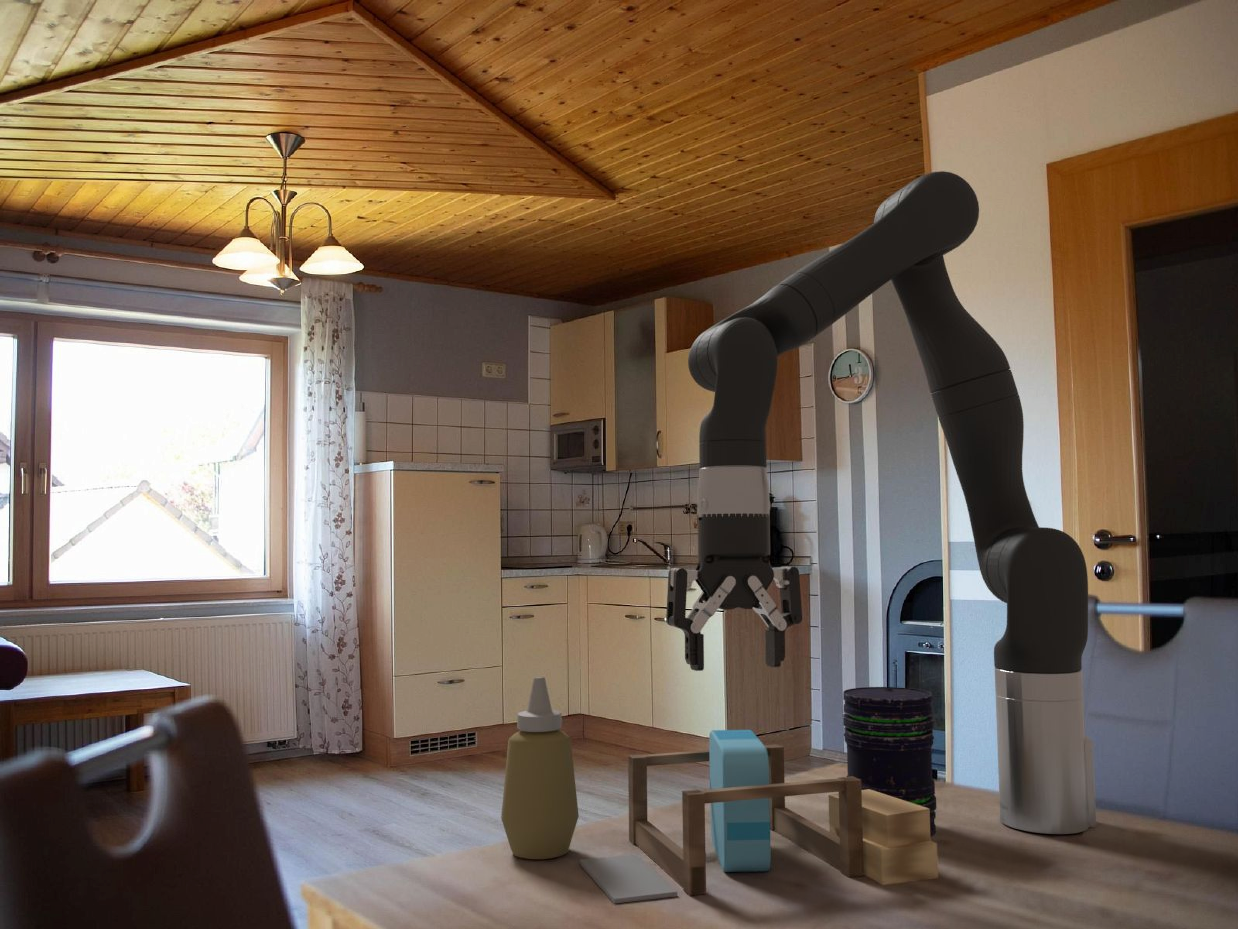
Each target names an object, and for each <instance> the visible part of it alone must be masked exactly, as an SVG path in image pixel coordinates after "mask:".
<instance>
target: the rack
mask: <svg viewBox="0 0 1238 929" xmlns="http://www.w3.org/2000/svg"><path fill="white" fill-rule="evenodd" d="M764 746H765V747H766V749H767V753H768V760H769V784H767V785H755V786H743V787H732V788H720V789H710V788H709V789H708V788H707V789H700V790H699V789H690V790H682V791H681V792H682V794H681V796H682V797H681V802H682V804H681V805H682V806H681V807H682V808H681V809H682V847H681V846H680V845H678V844H677V843H676V842H675V841H673V839H671V838H669V836H667V835H666V834H665V833H664V832H663V831H661V830H660V829H658V827H656V826H655V825H653V823H651V822H650V821H649V820H648V767H652V766H666V765H677V764H689V763H690V764H691V763H704V762H705V763H706V762H710V754H709V749H705V750H693V751H692V750H691V751H678V752H677V751H676V752H666V753H665V752H663V753H651V754H650V753H649V754H641V753H640V754H629V755H628V756H627V763H628V766H627V770H628V771H627V772H628V775H627V776H628V778H627V779H628V780H627V781H628V784H627V787H628V840H629V842H630V843H631V844H633V845H636V846H637V847H638V848H639V849H641V851H642V852H643V853H644V854H646V855H647V856H648V857H649V858H650V859H651V860H652V861H653V862H654V863H656V865H657V866H659V867H660V868H661V869H662V870H663V871H664V872H665V873H666V874H668V875H669V876H670V877H671V878H672V879H673V881H675V882H676V883H677V884H679V886H681V887H682V888H683V891H684V892H685V893H686V894H687V895H688V896H689V897H691V896H703V895H707V868H706V866H707V865H706V864H707V863H706V862H707V861H706V859H707V858H706V856H707V854H706V851H707V850H706V808H705V807H706V804H710V803H718V802H729V801H740V800H751V799H762V798H770V831H775V832H776V833H778V834H780V835H782V836H783V837H785V838H786V839H788V840H789V841H791V842H793V843H794V844H795V845H798V846H799V847H801V848H803V849H804V850H806V851H807V852H809V853H810V854H812V855H814V856H816V857H817V858H818V859H821V860H822V861H824V862H826V863H827V864H829V865H830V866H832V867H834V868H835V869H837V870H839V871H840V873H841V874H843V875H844V876H846V877H847V878H854V877H864V876H865V874H864V862H863V826H862V791H861V780H860V779H858V778H856V777H853V776H851V777H847V776H842V777H838V778H829V779H828V778H827V779H815V780H804V781H794V782H791V781H790V782H785V747H784V746H783V745H779V744H778V743H777V744H764ZM837 792H838V793H839V826H840V837H838V836H837V835H835V834H833V833H831V832H830V830H828V829H825V828H824V827H821V826H820V825H818V824H816V823H814V822H813V821H811V820H809V819H807V818H805V817H804V816H802V815H800V814H799V813H797V812H795V811H792V810H791V809H789V808H788V807H786V797H792V796H793V797H794V796H805V795H806V796H807V795H817V794H827V793H837Z"/></svg>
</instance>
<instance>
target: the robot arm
mask: <svg viewBox="0 0 1238 929" xmlns="http://www.w3.org/2000/svg"><path fill="white" fill-rule="evenodd" d="M979 215H980V206H979V200H978V197H977V194H976V191H975V190H974V189H973V187H972V186H971V185H970V183H969V182H968V181H966V180H965V179H964V178H963V177H961V176H960V175H958V174H956V173H954V172H951V171H945V170H941V171H933V172H930V173H926V174H923V175H921V176H919V177H917V178H916V179H914V180H912V181H910V182H909V183H908V184H906V185H905V186H904V187H902V188H900V189H899V190H897V191H895V193H893V194H891V195H890V196H889V197H888V198H886V199H885V200H884V201H883V202H882V203H881V204H880V205H879V206H878V207H877V210H876V212H875V214H874V219H873V223H872V225H870V226H868V227H867V228H865V229H864V230H863V231H861V232H859V233H858V234H857V235H855V236H853V237H852V238H850V239H848V240H847V241H844V242H843V243H842V244H840V245H838V246H837V247H834V248H833V249H831V250H830V251H828V252H826V253H824V254H823V255H822V256H819V257H818V258H816V259H815V260H813V261H811V262H810V263H808V264H806V265H804V266H803V267H802V268H800V269H798V270H797V271H795V272H793V274H791V275H790V276H787V278H785V279H784V280H782V281H781V282H780V283H778V284H776V285H775V286H773V287H772V288H771V289H770V290H768V291H767V292H766V293H765V294H764V295H763V296H761V297H760V298H758V299H756V300H755V301H754V302H753V303H751V304H749V305H747V306H746V307H744V308H742V309H740V310H739V311H738V310H737V311H736V312H734V313H733V314H731V315H729V316H728V317H726V318H724V319H722V320H721V321H719V322H717V323H716V324H715V325H712V326H711V327H709V328H708V329H706V330H704V331H703V332H702V333H701V334H700V335H698V337H697V338H696V339H695V340H694V342H693V343H692V345H691V347H690V349H689V353H688V358H687V366H688V370H689V374H690V376H691V377H692V379H693V381H694V382H695V383H696V384H697V385H698V386H700V387H701V388H703V389H704V390H707V391H710V392H714V398H713V405H712V408H711V409H710V411H709V412H708V413H707V414H706V415H705V416H704V417H703V419H701V420H702V421H701V423H700V427H699V434H698V435H699V438H698V442H699V446H698V447H699V449H698V451H699V452H698V453H699V464H698V465H699V472H698V473H699V474H698V482H697V496H696V497H697V556H698V563H697V566H696V568H695V569H685V568H682V567H672V568H670V569H669V570H668V572H667V573H668V576H667V577H668V578H667V598H666V614H665V615H666V616H665V621H666V624H667V625H668V626H670V627H673V628H677V629H679V630H681V631H682V632H683V634H684V660H685V662H686V664H687V665H689V667H690V669H691V670H692V671H695V672H699V671H700V672H703V671H704V670H705V651H704V650H705V649H704V648H705V647H704V646H705V644H704V643H705V642H704V640H705V638H704V636H705V634H703V633H702V632H701V631H702V629H703V628H704V627H705V625H706V624H707V622H708V621H709V619H710V618H711V617H713V616H714V615H715V614H716V612H717V610H718V609H719V610H728V611H729V610H731V611H732V610H734V609H742V610H753V611H754V612H755V613H756V614H757V615H759V617H760V618H761V620H762V621H763V622H764V624H765V625H766V626H767V627H768V629H764V631H765V664H766V666H768V667H771V668H780V667H781V663H782V662H784V660H785V658H786V631H787V629H788V628H789V627H791V626H793V625H798V624H801V622H802V621H803V609H802V598H801V597H802V595H801V594H802V593H801V581H800V580H801V579H800V570H799V568H797V567H796V566H786V565H785V566H780V567H779V568H773V566H772V565H771V562H770V558H771V517H770V516H771V513H770V511H771V507H772V506H771V501H770V484H769V479H768V469H767V464H768V463H767V434H766V432H767V431H766V428H767V422H768V419H769V415H770V411H771V406H772V403H773V402H772V401H773V397H774V392H775V388H776V380H777V374H778V357H779V356H781V355H783V354H785V353H787V352H790V351H793V350H796V349H797V348H800V347H801V346H803V345H805V344H806V343H808V342H810V341H811V340H812V339H813V338H816V336H818V335H820V334H821V333H822V332H823V331H825V330H826V329H828V328H829V327H830V326H832V325H833V324H834V323H836V322H837V321H839V320H840V319H841V318H842V317H844V316H845V315H846V314H849V312H850V311H852V310H854V308H855V307H857V306H858V305H859V304H860V303H861V302H863V301H865V300H866V299H867V298H868V297H869V296H871V295H873V293H875V292H876V291H877V290H878V289H880V288H881V287H883V286H884V285H885V284H887V283H888V282H889V281H891V282H892V285H893V287H894V290H895V291H896V294H897V297H898V299H899V302H900V303H901V305H902V308H903V311H904V314H905V317H906V319H907V322H908V325H909V329H910V332H911V334H912V337H913V340H914V343H915V346H916V350H917V352H918V355H919V358H920V360H921V364H922V367H923V370H924V373H925V377H926V380H927V385H928V390H929V392H930V394H931V395H930V396H931V398H932V401H933V404H934V408H935V412H936V416H937V417H938V421H939V424H940V426H941V429H942V432H943V435H944V437H945V441H946V445H947V447H948V450H949V454H950V457H951V460H952V462H953V466H954V469H955V472H956V475H957V478H958V481H959V485H960V487H961V489H962V490H961V491H962V493H963V497H964V500H965V504H966V506H967V513H968V517H969V523H970V527H971V531H972V536H973V542H974V547H975V553H976V558H977V562H978V566H979V570H980V574H981V577H982V580H983V582H984V584H985V585H986V588H987V589H988V590H989V592H991V593H992V595H993V596H994V597H995V598H996V599H998V600H999V601H1001V602H1002V603H1005V604H1006V625H1005V626H1006V627H1005V631H1004V633H1003V636H1002V637H1001V638H1000V639H998V641H996V643H995V645H994V646H993V647H994V648H993V664H994V665H993V666H994V685H995V686H994V688H995V689H994V690H995V710H996V712H995V713H996V714H995V717H996V739H997V746H996V747H997V770H998V793H999V794H998V796H999V798H998V799H999V820H1000V821H1001V823H1002V824H1004V825H1006V826H1008V827H1010V828H1013V829H1017V830H1020V831H1025V832H1030V833H1037V834H1045V835H1046V834H1049V835H1070V834H1077V833H1081V832H1085V831H1087V830H1088V829H1089V828H1092V827H1097V810H1096V809H1097V808H1096V788H1095V784H1096V783H1095V769H1094V768H1095V767H1094V766H1095V765H1094V762H1095V761H1094V746H1093V745H1094V744H1093V741H1092V739H1091V738H1090V737H1087V736H1085V734H1086V733H1085V730H1086V729H1085V715H1084V714H1085V711H1084V710H1085V709H1084V708H1085V707H1084V691H1083V690H1084V689H1083V671H1082V668H1083V667H1082V660H1083V659H1082V657H1083V653H1084V650H1085V648H1086V646H1087V642H1088V637H1089V636H1088V635H1089V581H1088V580H1089V578H1088V567H1087V564H1086V559H1085V555H1084V554H1083V551H1082V549H1081V547H1080V545H1079V543H1078V542H1077V541H1076V540H1075V539H1074V538H1073V537H1072V536H1070V535H1069V534H1068V533H1066V532H1065V531H1062V530H1060V529H1057V528H1053V527H1040V526H1039V523H1038V522H1037V520H1036V519H1037V518H1036V517H1035V514H1034V511H1033V508H1032V506H1031V503H1030V501H1029V498H1028V494H1027V491H1026V487H1025V480H1024V475H1023V454H1024V453H1023V449H1024V434H1025V433H1024V426H1025V424H1024V413H1023V406H1022V402H1021V397H1020V395H1019V391H1018V388H1017V385H1016V381H1015V378H1014V375H1013V372H1012V369H1011V365H1010V364H1009V361H1008V358H1007V356H1006V354H1005V352H1004V351H1003V348H1002V347H1001V346H1000V345H999V344H998V342H997V341H996V340H995V339H994V338H993V337H992V336H991V334H989V332H987V330H986V329H985V328H984V327H983V326H982V325H981V324H980V323H979V322H978V321H977V320H976V319H975V318H974V317H973V316H972V315H971V314H970V312H968V311H967V310H966V309H965V308H964V306H963V304H962V303H961V301H960V300H959V298H958V296H957V294H956V292H955V290H954V288H953V285H952V283H951V282H952V281H951V279H950V277H949V274H948V273H949V272H948V269H947V267H946V262H945V258H944V255H946V254H949V253H951V252H952V251H953V250H955V249H957V248H958V247H961V245H962V244H964V243H965V242H966V241H967V240H968V239H969V237H971V235H972V234H973V232H974V231H975V229H976V227H977V225H978V222H979V218H980V216H979ZM773 581H774V584H775V585H776V587H777V588H779V597H780V609H781V612H780V611H779V609H778V606H777V605H776V603H775V602H774V600H773V599H772V597H771V596H770V595H769V593H768V592H767V590H768V588H769V587H770V585H771V584H772V582H773ZM694 582H696V584H697V585H698V587H699V588H700V590H701V594H700V595H699V596H698V598H697V599H696V601H695V602H694V604H692V605H693V606H692V609H691V611H690V612H689V614H688V615H687V614H686V612H687V594H688V593H687V592H688V590H690V589H691V588H692V586H693V583H694ZM686 615H687V616H686Z"/></svg>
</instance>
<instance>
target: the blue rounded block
mask: <svg viewBox="0 0 1238 929" xmlns="http://www.w3.org/2000/svg"><path fill="white" fill-rule="evenodd" d="M708 743H709V744H708V746H709V749H708V750H709V754H710V761H709V789H720V788H732V787H743V786H755V785H767V784H769V760H768V753H767V749H766V747H765V744H764V743H763V742H762V741H761V740H760V739H759V737H757V735H756V734H755V733H754V731H752V730H751V729H722V730H721V729H719V730H718V729H716V730H715V729H714V730H711V731H710V732H709V740H708ZM709 805H710V807H709V808H710V836H711V838H710V839H711V843H712V845H713V847H714V848H713V849H714V850H715V853H716V855H717V858H718V861H719V863H720V867H721V868H722V870H723V872H725V873H731V872H732V873H735V872H736V873H737V872H738V873H741V872H743V873H745V872H753V873H754V872H768V871H770V869H771V863H772V861H771V860H772V858H771V856H772V855H771V854H772V853H771V850H772V848H771V847H772V846H771V829H770V798H762V799H751V800H740V801H729V802H718V803H709Z"/></svg>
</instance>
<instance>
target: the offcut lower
mask: <svg viewBox="0 0 1238 929" xmlns="http://www.w3.org/2000/svg"><path fill="white" fill-rule="evenodd" d="M829 832H831V833H833V834H835V835H837V836H838V837H840V829H839V828H836V827H833V826H831V825H829ZM938 860H939V859H938V843H937V842H934V841H933V840H931V841H925V842H919V843H914V844H908V845H902V846H896V847H891V848H887V847H884V846H882V845H879V844H877V843H874V842H871V841H869V840H866V839H864V838H863V862H864V876H867V877H868V878H870V879H872V880H874V881H876V882H877V883H879V884H881V885H882V886H884V885H892V884H899V883H900V884H901V883H907V882H908V883H909V882H916V881H924V880H933V879H939V864H938Z"/></svg>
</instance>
